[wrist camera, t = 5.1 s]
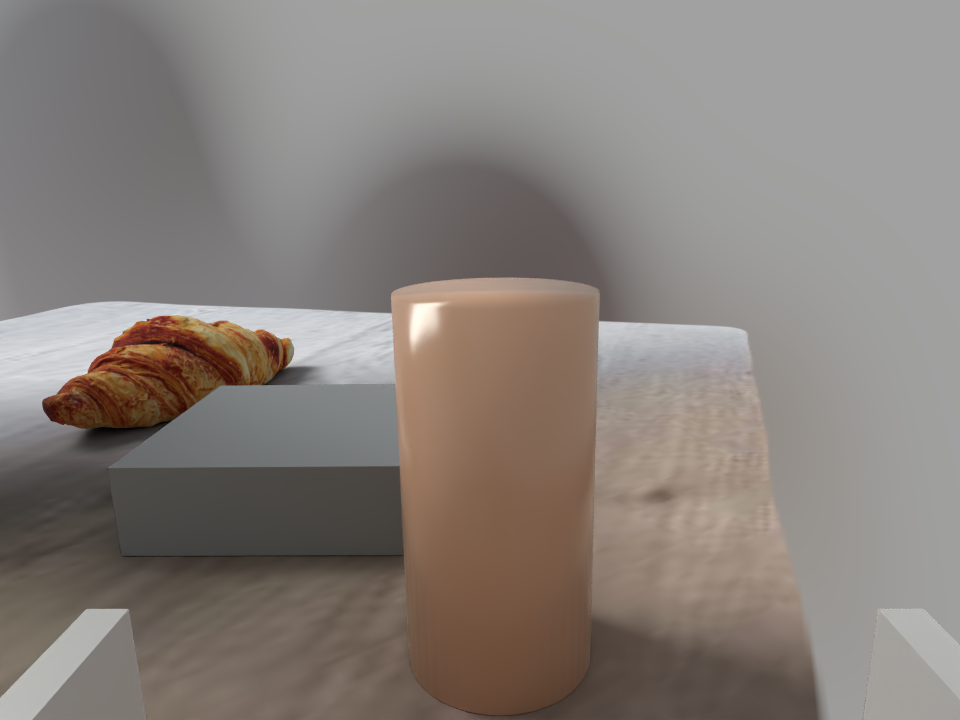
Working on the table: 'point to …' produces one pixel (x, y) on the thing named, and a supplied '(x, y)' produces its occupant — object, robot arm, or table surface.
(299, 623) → the table surface
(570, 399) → the canister
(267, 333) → the croissant
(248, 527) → the pedestal
